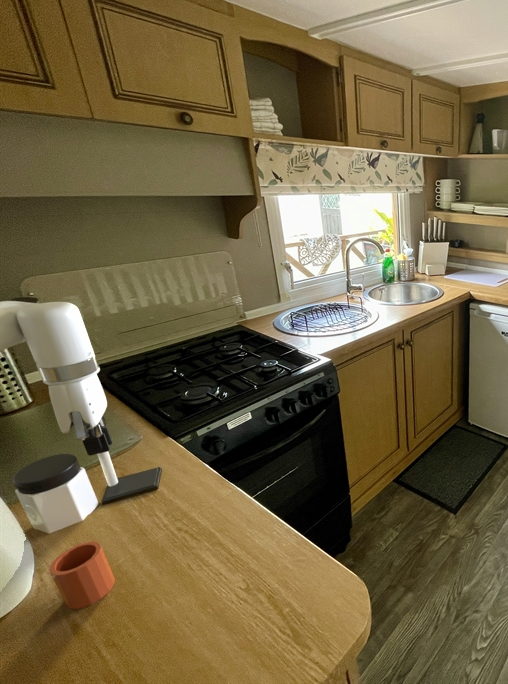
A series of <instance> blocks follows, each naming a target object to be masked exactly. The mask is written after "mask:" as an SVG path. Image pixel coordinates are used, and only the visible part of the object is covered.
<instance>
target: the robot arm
mask: <svg viewBox="0 0 508 684" xmlns="http://www.w3.org/2000/svg"><path fill="white" fill-rule="evenodd" d="M25 342H26V345H27V346H28V348H29V350H30V353H31V355H32V358H33V361H34V363H35V365H36V368H37V370H38V373H39V375H40V378H41V380H42V382H43V384H45V385H47V386H48V387H47V388H48V395H49V398H50V402H51V406H52V409H53V413H54V416H55V418H56V421H57V424H58V428H59V431H60V432H61V433H62V434H68V433H70V432H71V431H72V429H73V428H74V432H75V437H76V439H77V440H81V442H82V445H83V446H84V449H85V451H86V454H87V456H89V457H91V456H95V455H97V454H99V453H103V452H110V449H111V447H110V446H111V445H112V444H113V439H112V437H111V434H110V431H109V428H108V426H107V422H106V419H105V416H104V414H105V412H106V410H107V407H108V401H107V397H106V393H105V391H104V388H103V385H102V384H101V381H100V379H99V377H98V374H99V372H100V371H101V368H100V366H99V362H98V360H97V358H96V354H95V351H94V348H93V345H92V343H91V340H90V337H89V334H88V331H87V328H86V326H85V322H84V320H83V317H82V315H81V312H80V309H79V307H78V306H76V305H75V304H73V303H71V302H67V301H49V302H42V303H40V302H39V303H36V302H26V301H18V300H17V301H16V300H4V301H2V300H1V301H0V352H3V351H4V350H7V349H9V348H12V347H14V346H16V345H19V344H22V343H25ZM98 424H99V425H100V427H99V425H98ZM88 428H93V429H94V430H93V429H88ZM100 428H101V430H100ZM101 431H102V433H101Z"/></svg>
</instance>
